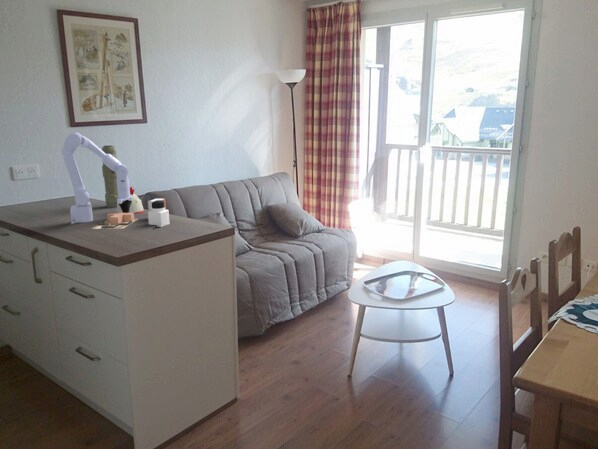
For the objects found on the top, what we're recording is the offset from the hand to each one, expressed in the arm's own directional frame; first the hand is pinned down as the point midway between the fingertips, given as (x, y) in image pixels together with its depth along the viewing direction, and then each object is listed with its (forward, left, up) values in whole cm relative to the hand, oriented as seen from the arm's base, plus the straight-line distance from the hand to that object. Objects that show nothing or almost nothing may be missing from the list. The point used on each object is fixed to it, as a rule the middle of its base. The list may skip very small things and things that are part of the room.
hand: (126, 215), depth 241 cm
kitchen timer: (-4, +15, -3) cm, 15 cm away
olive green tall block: (-21, +35, -2) cm, 41 cm away
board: (0, -13, -2) cm, 13 cm away
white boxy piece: (+17, -2, -2) cm, 17 cm away
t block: (0, -9, -1) cm, 9 cm away
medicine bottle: (+21, -13, -2) cm, 25 cm away
